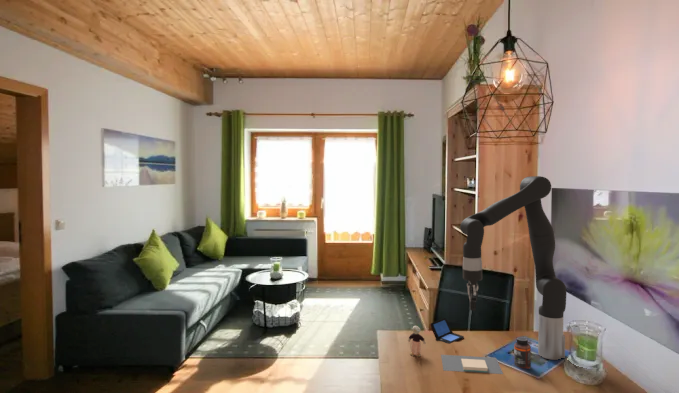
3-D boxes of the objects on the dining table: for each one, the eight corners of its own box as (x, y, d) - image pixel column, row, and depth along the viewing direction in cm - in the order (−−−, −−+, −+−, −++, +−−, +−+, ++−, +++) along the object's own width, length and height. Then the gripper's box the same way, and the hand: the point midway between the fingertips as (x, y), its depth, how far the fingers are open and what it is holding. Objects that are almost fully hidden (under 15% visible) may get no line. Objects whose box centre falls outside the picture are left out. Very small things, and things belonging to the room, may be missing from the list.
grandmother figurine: (406, 356, 175) (406, 326, 175) (408, 352, 179) (407, 323, 178) (425, 358, 173) (425, 328, 172) (426, 354, 177) (426, 325, 176)
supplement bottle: (529, 364, 166) (530, 336, 165) (531, 371, 160) (531, 342, 160) (513, 362, 168) (513, 334, 167) (514, 369, 162) (514, 340, 162)
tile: (484, 359, 165) (487, 368, 158) (484, 363, 165) (487, 372, 158) (461, 358, 167) (463, 366, 160) (461, 362, 167) (463, 370, 160)
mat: (495, 359, 171) (495, 357, 170) (503, 376, 157) (503, 374, 157) (440, 356, 174) (440, 354, 174) (443, 372, 161) (443, 370, 161)
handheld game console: (449, 346, 185) (449, 330, 184) (429, 339, 193) (429, 323, 193) (465, 338, 193) (465, 323, 193) (445, 332, 201) (445, 317, 201)
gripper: (484, 271, 161) (485, 315, 162) (479, 264, 174) (479, 305, 175) (464, 271, 162) (465, 315, 163) (460, 264, 176) (461, 304, 176)
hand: (472, 309), depth 169 cm, fingers closed
